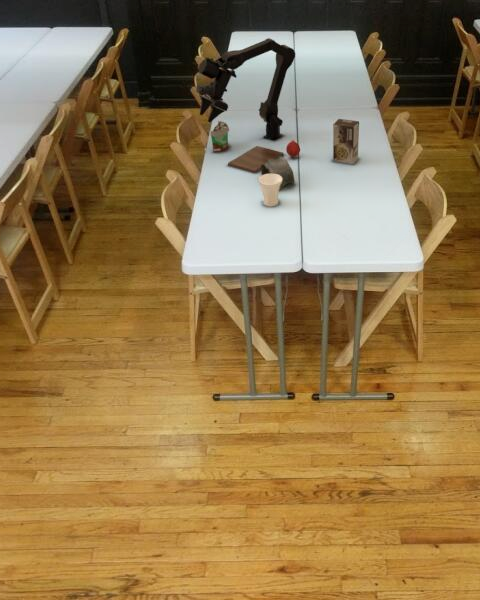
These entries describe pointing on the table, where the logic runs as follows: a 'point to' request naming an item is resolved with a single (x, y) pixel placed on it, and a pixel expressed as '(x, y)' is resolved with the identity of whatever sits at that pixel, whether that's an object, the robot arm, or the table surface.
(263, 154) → the cutting board
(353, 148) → the coffee box
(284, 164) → the rock
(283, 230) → the table surface
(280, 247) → the table surface
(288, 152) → the red fruit
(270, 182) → the cup
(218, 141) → the food container
